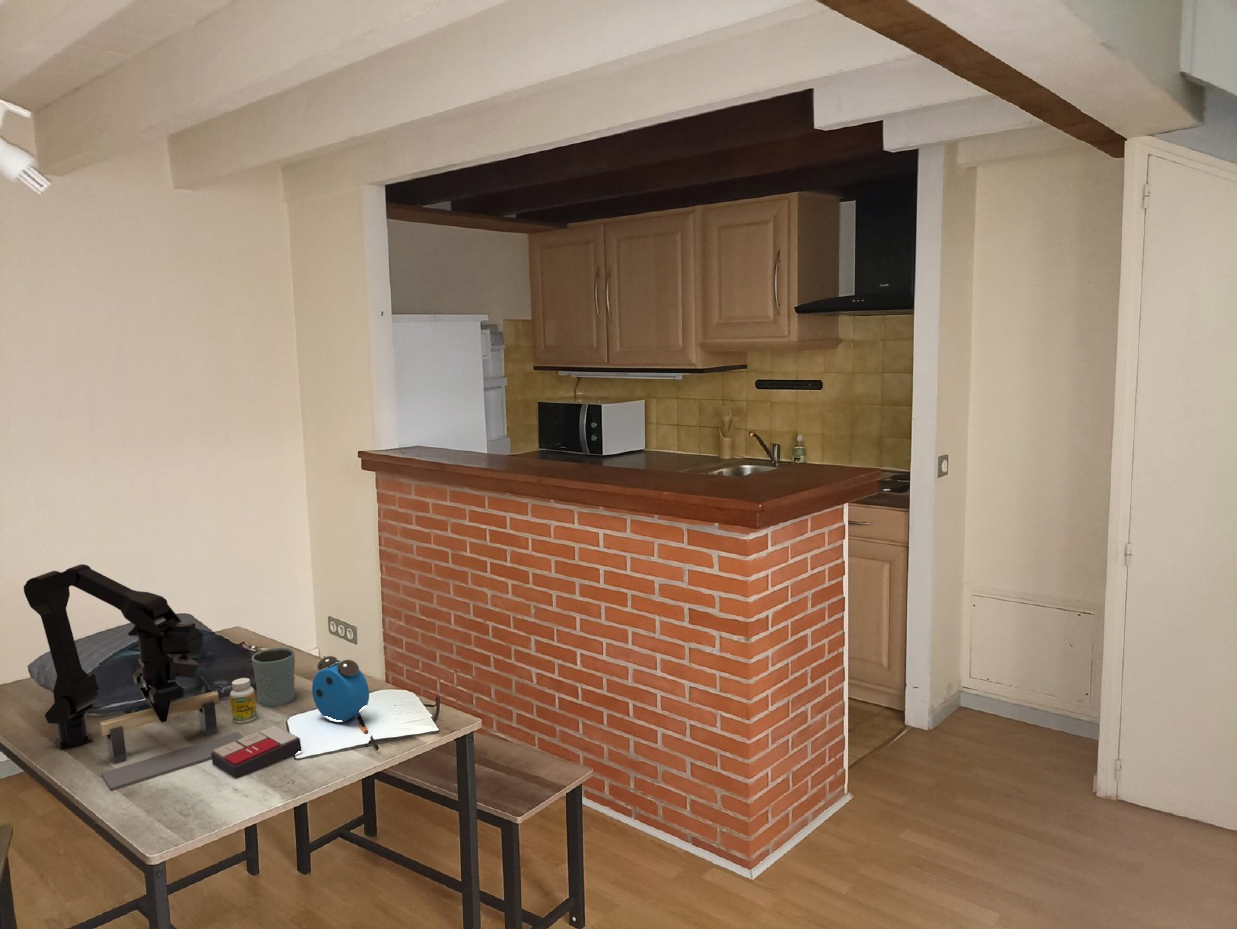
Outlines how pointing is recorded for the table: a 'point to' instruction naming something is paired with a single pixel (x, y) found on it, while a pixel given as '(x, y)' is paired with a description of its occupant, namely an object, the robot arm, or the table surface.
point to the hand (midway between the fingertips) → (162, 720)
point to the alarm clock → (339, 688)
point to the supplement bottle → (243, 701)
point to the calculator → (256, 751)
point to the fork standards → (117, 736)
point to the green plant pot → (274, 676)
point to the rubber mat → (165, 762)
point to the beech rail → (150, 715)
